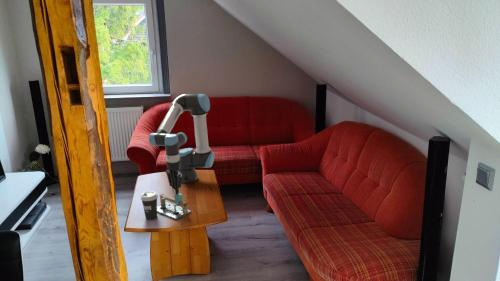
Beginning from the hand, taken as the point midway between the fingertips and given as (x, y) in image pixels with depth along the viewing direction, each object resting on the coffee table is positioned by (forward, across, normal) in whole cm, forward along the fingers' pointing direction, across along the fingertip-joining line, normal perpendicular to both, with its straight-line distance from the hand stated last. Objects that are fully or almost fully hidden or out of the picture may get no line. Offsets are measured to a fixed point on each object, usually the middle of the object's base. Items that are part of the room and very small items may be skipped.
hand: (176, 197), depth 221 cm
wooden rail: (+8, -3, -1) cm, 9 cm away
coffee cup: (+9, -7, -14) cm, 18 cm away
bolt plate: (+9, -3, -2) cm, 10 cm away
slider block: (+8, +2, -1) cm, 8 cm away
